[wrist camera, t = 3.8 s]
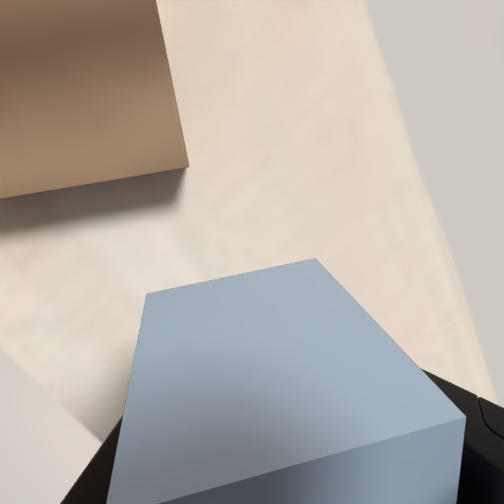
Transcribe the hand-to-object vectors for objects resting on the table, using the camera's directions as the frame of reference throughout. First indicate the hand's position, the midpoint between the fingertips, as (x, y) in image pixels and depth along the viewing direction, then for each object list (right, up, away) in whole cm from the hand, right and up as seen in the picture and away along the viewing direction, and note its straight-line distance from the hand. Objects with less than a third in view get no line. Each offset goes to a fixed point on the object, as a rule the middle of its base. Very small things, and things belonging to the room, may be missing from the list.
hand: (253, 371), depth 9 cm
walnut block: (-8, +11, +6) cm, 15 cm away
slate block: (0, 0, +1) cm, 1 cm away
